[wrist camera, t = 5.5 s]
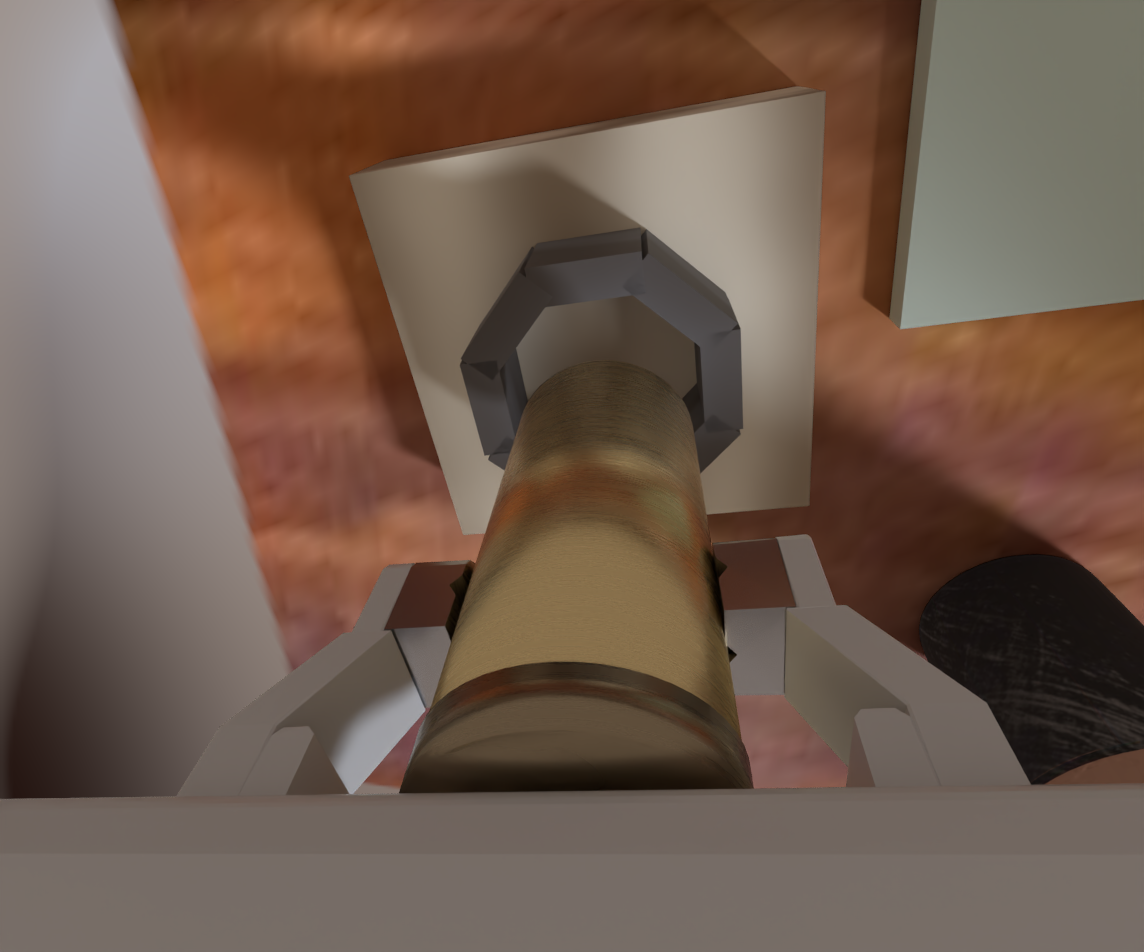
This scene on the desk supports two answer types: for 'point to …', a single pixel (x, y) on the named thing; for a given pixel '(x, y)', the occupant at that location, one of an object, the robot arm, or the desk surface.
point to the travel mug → (1046, 665)
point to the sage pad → (1022, 161)
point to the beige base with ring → (615, 282)
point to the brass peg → (590, 610)
